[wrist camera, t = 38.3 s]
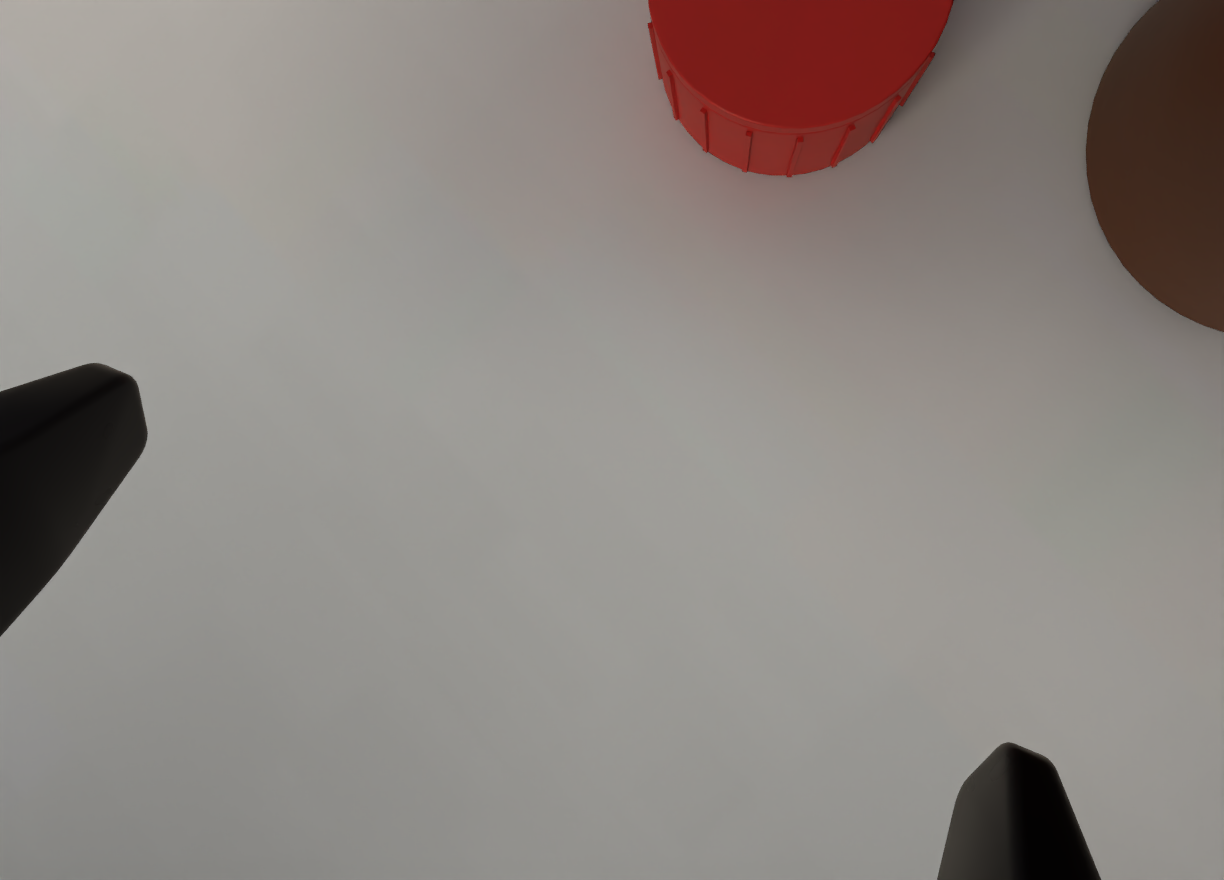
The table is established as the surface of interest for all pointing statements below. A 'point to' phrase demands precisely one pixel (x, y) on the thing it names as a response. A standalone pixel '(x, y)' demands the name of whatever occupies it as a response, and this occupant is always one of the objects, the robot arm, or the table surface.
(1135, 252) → the sauce bottle
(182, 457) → the table surface
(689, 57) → the cap
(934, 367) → the table surface
